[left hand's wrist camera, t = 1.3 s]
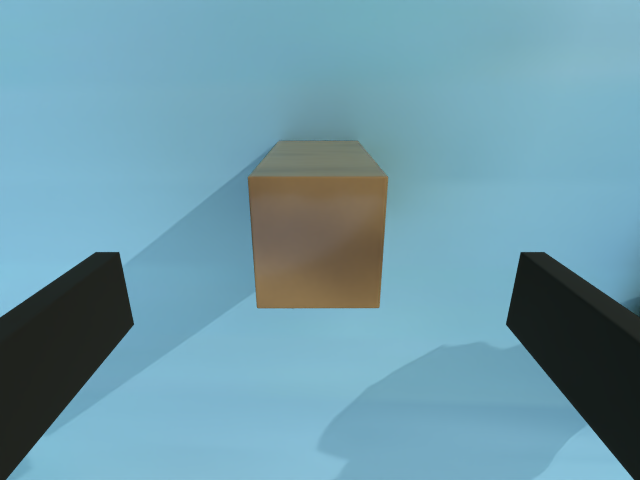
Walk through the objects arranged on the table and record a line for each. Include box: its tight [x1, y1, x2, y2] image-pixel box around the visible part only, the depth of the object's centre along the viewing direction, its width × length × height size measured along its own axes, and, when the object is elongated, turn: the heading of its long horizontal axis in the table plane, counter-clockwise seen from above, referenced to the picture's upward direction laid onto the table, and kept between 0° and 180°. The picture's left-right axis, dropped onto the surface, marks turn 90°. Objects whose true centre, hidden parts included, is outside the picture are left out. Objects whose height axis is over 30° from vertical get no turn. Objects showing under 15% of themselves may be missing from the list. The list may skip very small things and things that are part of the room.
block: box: [248, 141, 388, 308], centre depth 21 cm, size 6×5×12 cm
